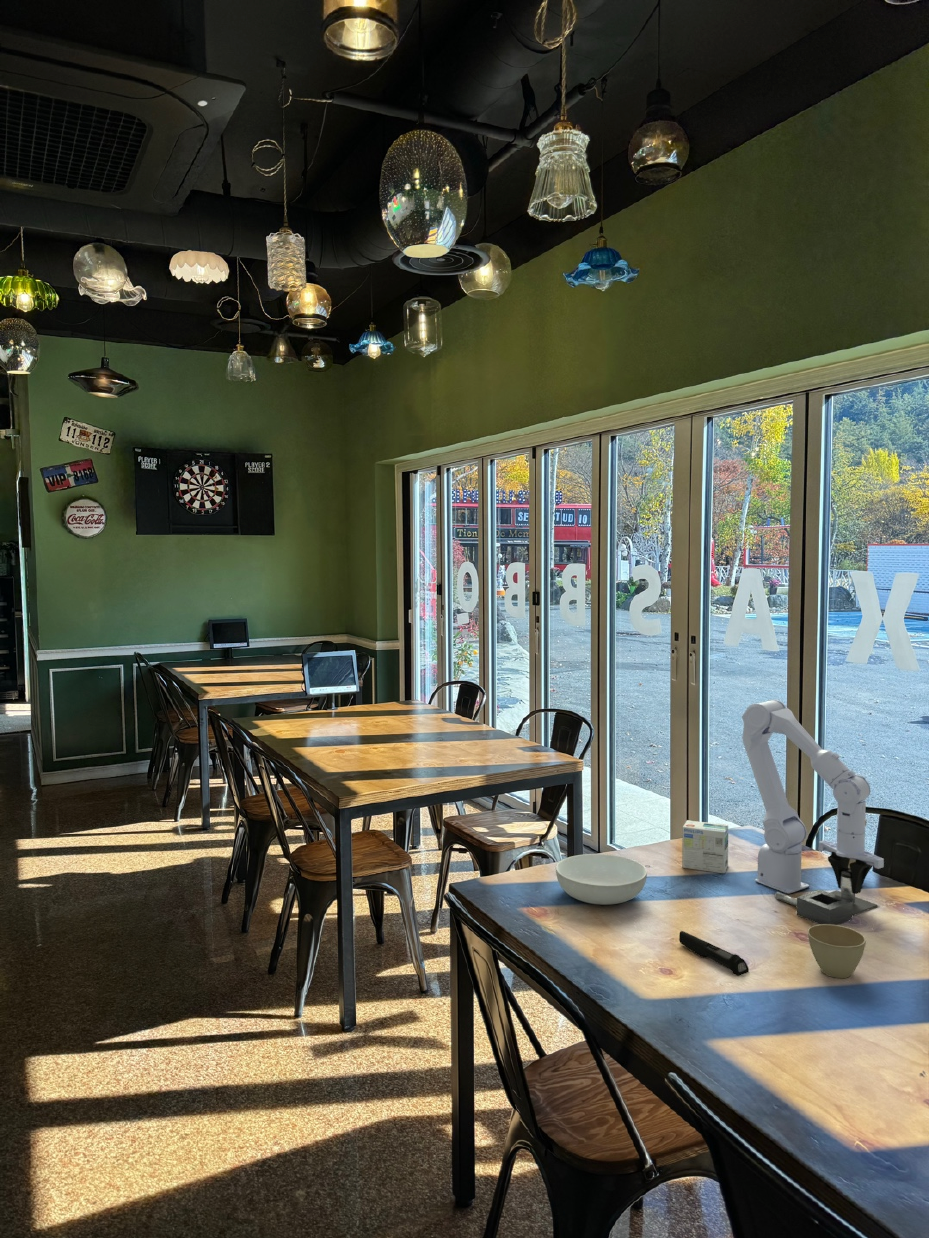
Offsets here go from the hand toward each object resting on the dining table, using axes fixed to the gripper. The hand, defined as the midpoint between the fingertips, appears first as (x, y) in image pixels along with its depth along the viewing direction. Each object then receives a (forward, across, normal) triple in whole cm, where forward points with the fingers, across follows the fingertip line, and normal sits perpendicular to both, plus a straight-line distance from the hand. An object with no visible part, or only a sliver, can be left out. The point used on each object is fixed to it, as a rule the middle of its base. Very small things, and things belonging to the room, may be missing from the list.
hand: (849, 889), depth 188 cm
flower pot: (+4, +17, -30) cm, 35 cm away
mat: (+3, -1, 0) cm, 4 cm away
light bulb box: (+4, -34, -8) cm, 35 cm away
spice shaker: (+2, 0, 0) cm, 2 cm away
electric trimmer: (+4, +1, -46) cm, 46 cm away
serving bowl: (+4, -34, -44) cm, 55 cm away
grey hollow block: (+3, -3, -11) cm, 11 cm away
